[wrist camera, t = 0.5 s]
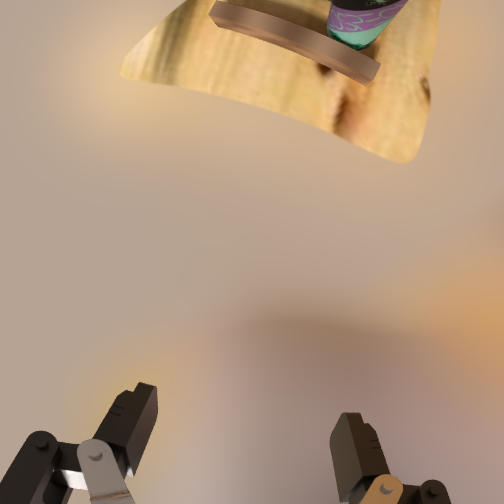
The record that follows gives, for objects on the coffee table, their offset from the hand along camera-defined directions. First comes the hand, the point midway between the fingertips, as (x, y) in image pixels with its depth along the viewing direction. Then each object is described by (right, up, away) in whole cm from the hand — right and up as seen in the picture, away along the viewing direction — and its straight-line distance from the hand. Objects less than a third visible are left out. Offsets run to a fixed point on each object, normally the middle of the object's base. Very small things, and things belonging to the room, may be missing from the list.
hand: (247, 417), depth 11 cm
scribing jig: (+7, +34, +13) cm, 37 cm away
